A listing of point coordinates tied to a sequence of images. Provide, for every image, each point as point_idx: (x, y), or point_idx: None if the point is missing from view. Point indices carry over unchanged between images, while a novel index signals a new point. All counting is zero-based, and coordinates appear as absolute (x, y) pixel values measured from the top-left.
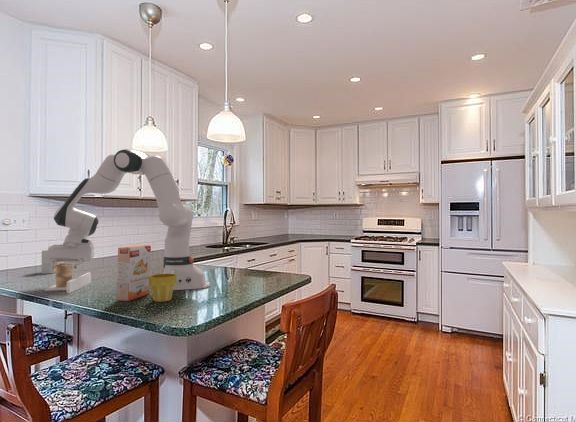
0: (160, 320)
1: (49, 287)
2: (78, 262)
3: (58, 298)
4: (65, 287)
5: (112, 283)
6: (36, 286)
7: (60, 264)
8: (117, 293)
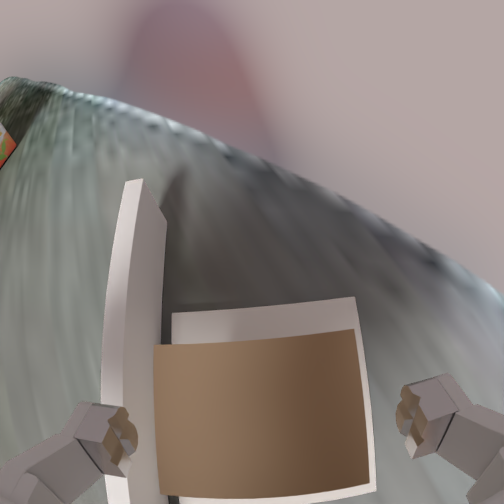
0: (10, 86)
1: (359, 364)
2: (49, 445)
3: (170, 143)
4: None
5: None
6: None
7: (331, 416)
8: (6, 131)
